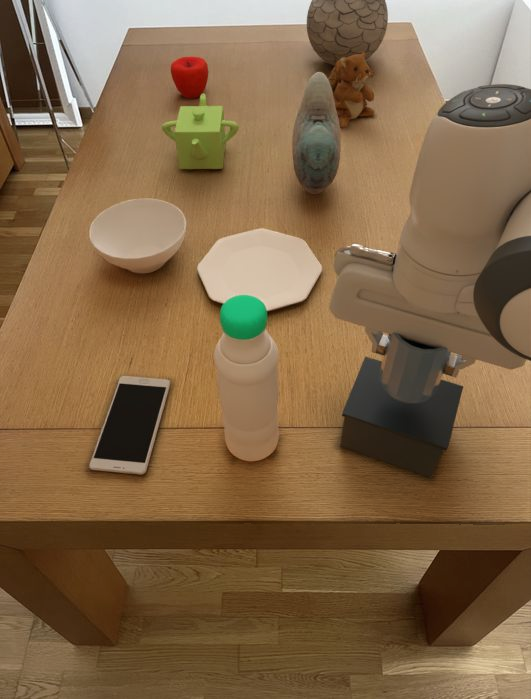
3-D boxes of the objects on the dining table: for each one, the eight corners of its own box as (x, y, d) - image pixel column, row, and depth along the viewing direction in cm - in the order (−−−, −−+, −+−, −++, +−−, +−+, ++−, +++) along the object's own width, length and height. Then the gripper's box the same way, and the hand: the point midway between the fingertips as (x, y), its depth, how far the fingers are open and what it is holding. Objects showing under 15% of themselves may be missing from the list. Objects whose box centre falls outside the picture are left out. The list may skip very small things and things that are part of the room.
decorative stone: (339, 220, 104) (349, 117, 89) (290, 219, 105) (292, 116, 89) (335, 159, 118) (344, 59, 102) (292, 158, 118) (294, 59, 103)
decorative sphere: (297, 76, 142) (299, -14, 127) (314, 44, 155) (317, -41, 139) (375, 85, 139) (387, -7, 123) (386, 51, 151) (398, -36, 136)
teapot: (207, 134, 125) (202, 86, 117) (251, 156, 119) (250, 107, 111) (155, 163, 118) (146, 114, 110) (199, 187, 112) (193, 138, 104)
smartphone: (171, 379, 80) (144, 473, 71) (171, 381, 81) (145, 476, 71) (120, 374, 81) (86, 468, 71) (120, 377, 82) (88, 470, 72)
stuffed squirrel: (343, 130, 125) (348, 70, 115) (309, 104, 133) (311, 45, 123) (379, 119, 128) (388, 59, 118) (344, 94, 136) (349, 35, 126)
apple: (195, 82, 141) (192, 49, 135) (218, 94, 137) (215, 60, 131) (166, 94, 138) (161, 61, 132) (188, 106, 133) (184, 73, 127)
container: (448, 421, 76) (463, 386, 70) (433, 481, 70) (447, 448, 64) (358, 392, 79) (365, 356, 73) (336, 447, 74) (342, 413, 68)
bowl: (80, 277, 96) (69, 245, 90) (129, 222, 105) (121, 190, 100) (164, 301, 92) (157, 268, 86) (206, 241, 101) (202, 209, 96)
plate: (187, 252, 99) (186, 246, 98) (291, 226, 103) (291, 219, 102) (222, 330, 87) (221, 323, 86) (337, 296, 91) (338, 290, 90)
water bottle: (268, 470, 72) (264, 342, 53) (217, 454, 73) (195, 324, 54) (285, 426, 76) (288, 292, 57) (237, 411, 78) (224, 276, 58)
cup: (443, 367, 67) (462, 315, 60) (430, 411, 63) (449, 360, 56) (388, 350, 69) (400, 298, 62) (372, 392, 65) (384, 340, 58)
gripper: (325, 259, 53) (317, 353, 64) (553, 320, 48) (503, 411, 58) (346, 221, 57) (335, 315, 68) (560, 273, 52) (511, 367, 62)
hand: (414, 360), depth 63 cm, fingers closed on cup, 7 cm apart
